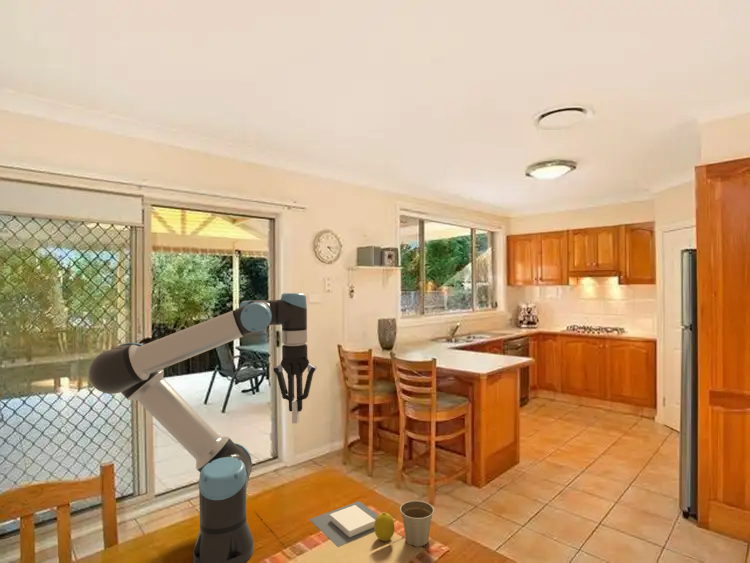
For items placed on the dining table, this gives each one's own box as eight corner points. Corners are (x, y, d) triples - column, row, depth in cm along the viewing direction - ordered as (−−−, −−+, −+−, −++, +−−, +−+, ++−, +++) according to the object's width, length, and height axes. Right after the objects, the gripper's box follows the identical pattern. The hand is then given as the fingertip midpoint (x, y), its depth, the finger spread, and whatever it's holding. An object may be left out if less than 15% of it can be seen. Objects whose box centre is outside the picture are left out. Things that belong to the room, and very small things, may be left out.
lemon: (392, 548, 116) (392, 518, 116) (372, 546, 117) (372, 516, 117) (396, 536, 122) (395, 508, 122) (376, 534, 123) (376, 506, 123)
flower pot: (441, 540, 120) (441, 509, 120) (419, 555, 113) (418, 522, 113) (415, 526, 127) (415, 497, 127) (393, 540, 120) (392, 509, 120)
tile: (329, 521, 129) (349, 538, 120) (329, 514, 129) (349, 531, 120) (355, 511, 134) (375, 527, 125) (355, 504, 134) (375, 520, 125)
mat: (338, 549, 116) (338, 546, 116) (309, 521, 130) (309, 519, 130) (391, 526, 127) (391, 524, 127) (359, 502, 141) (359, 500, 141)
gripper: (318, 342, 135) (319, 418, 135) (277, 342, 136) (278, 417, 136) (313, 345, 128) (314, 426, 127) (269, 345, 129) (270, 425, 128)
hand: (295, 421), depth 132 cm, fingers closed
